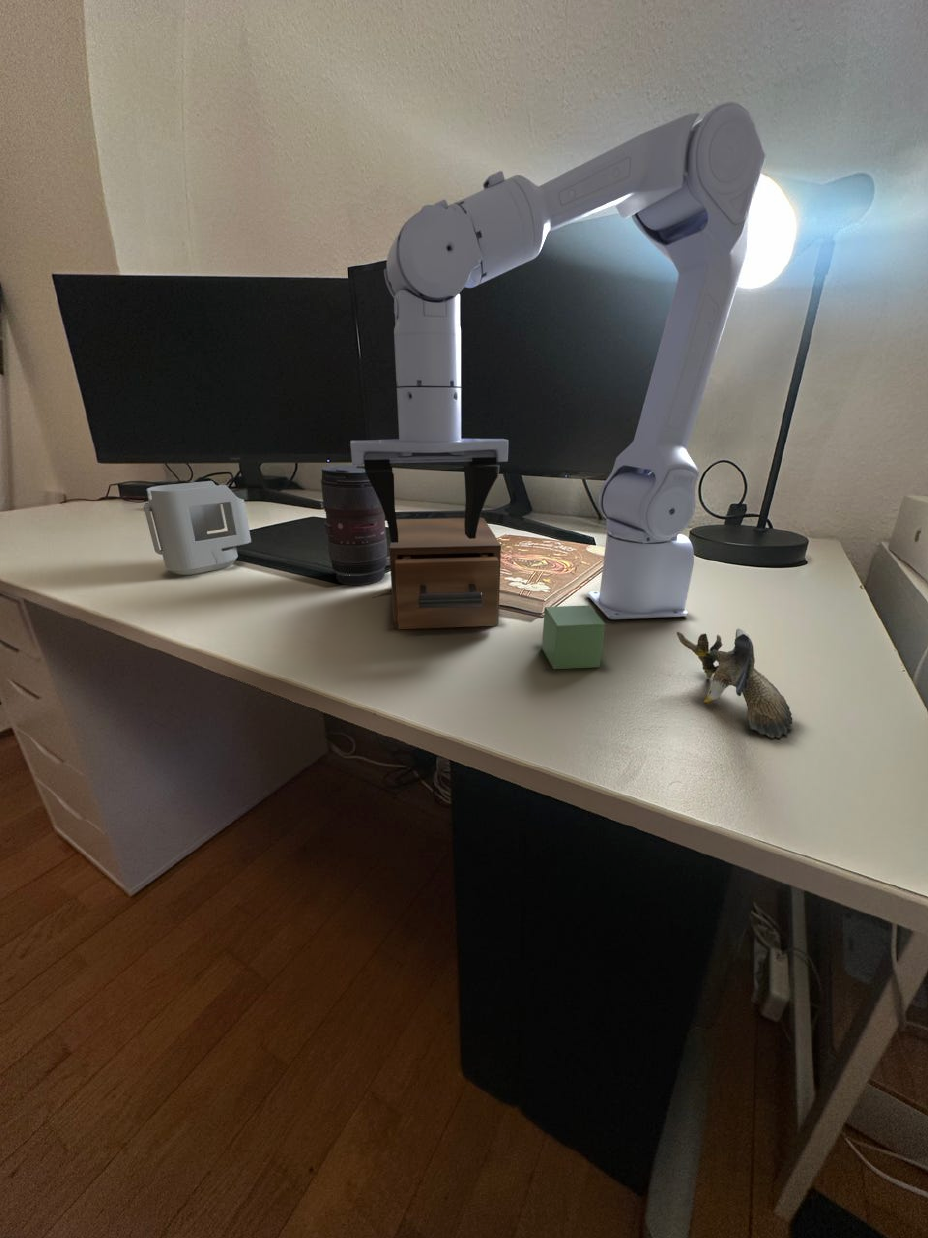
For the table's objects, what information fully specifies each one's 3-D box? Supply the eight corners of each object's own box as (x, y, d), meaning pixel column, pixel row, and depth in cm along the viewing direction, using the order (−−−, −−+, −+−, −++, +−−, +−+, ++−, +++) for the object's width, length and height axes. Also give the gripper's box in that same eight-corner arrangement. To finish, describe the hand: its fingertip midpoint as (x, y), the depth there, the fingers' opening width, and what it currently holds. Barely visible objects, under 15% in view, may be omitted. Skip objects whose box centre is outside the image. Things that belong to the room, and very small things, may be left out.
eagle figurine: (650, 671, 43) (722, 712, 35) (695, 601, 42) (780, 625, 34) (711, 706, 45) (793, 754, 37) (754, 640, 45) (848, 673, 36)
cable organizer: (257, 563, 75) (243, 483, 71) (168, 582, 67) (145, 493, 63) (240, 554, 80) (225, 478, 75) (154, 571, 72) (132, 487, 67)
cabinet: (498, 624, 55) (501, 545, 51) (394, 628, 54) (389, 548, 50) (482, 583, 67) (483, 517, 64) (397, 586, 66) (393, 519, 63)
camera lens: (371, 590, 65) (362, 473, 59) (319, 583, 67) (305, 469, 61) (400, 572, 72) (394, 465, 66) (352, 566, 74) (342, 462, 68)
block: (584, 645, 50) (589, 605, 48) (600, 667, 46) (605, 623, 44) (541, 647, 50) (544, 606, 48) (553, 669, 46) (557, 625, 44)
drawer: (503, 643, 49) (506, 573, 46) (397, 648, 48) (393, 576, 45) (481, 585, 64) (482, 530, 61) (401, 588, 63) (398, 532, 60)
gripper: (496, 389, 49) (492, 525, 54) (346, 388, 46) (358, 531, 51) (517, 387, 42) (511, 542, 48) (345, 386, 40) (359, 550, 45)
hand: (432, 538), depth 49 cm, fingers open, 7 cm apart
